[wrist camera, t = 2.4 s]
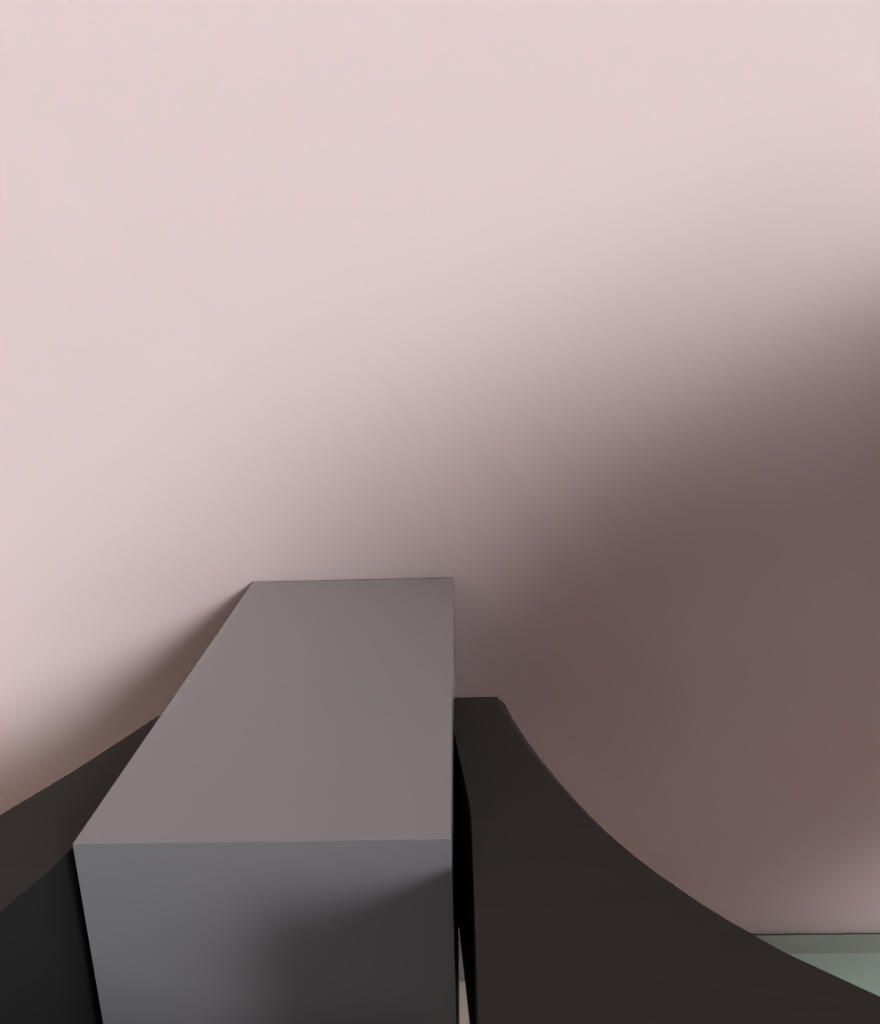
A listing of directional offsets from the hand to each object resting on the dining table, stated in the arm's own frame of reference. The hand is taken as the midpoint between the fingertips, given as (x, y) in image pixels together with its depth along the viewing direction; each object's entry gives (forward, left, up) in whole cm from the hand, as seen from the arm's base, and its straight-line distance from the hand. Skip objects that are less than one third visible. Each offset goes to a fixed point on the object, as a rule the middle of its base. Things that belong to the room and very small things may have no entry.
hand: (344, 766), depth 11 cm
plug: (0, 0, -2) cm, 2 cm away
